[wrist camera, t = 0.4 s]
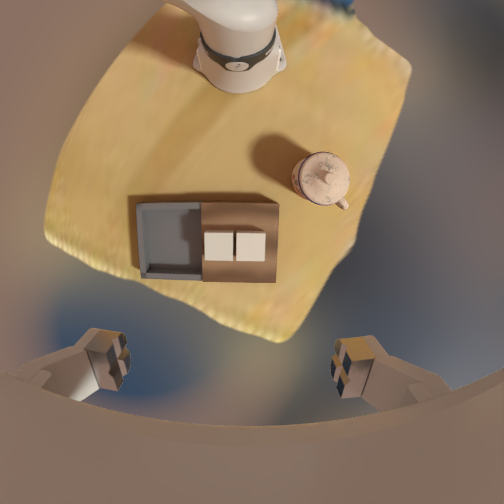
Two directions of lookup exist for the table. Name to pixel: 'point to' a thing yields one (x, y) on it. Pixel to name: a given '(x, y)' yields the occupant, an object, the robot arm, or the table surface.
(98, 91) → the table surface
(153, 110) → the table surface
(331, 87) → the table surface
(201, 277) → the tray
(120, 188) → the table surface
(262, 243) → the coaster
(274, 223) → the walnut board
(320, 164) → the teacup with lid
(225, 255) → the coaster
